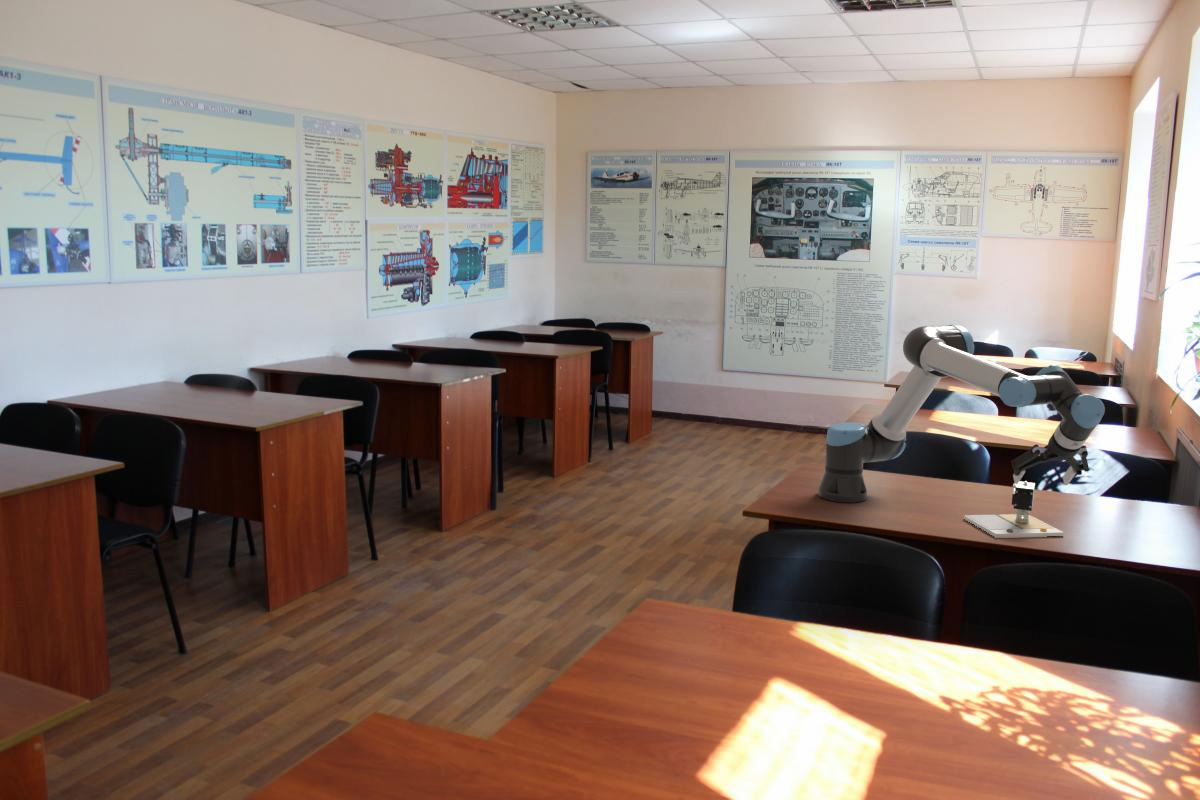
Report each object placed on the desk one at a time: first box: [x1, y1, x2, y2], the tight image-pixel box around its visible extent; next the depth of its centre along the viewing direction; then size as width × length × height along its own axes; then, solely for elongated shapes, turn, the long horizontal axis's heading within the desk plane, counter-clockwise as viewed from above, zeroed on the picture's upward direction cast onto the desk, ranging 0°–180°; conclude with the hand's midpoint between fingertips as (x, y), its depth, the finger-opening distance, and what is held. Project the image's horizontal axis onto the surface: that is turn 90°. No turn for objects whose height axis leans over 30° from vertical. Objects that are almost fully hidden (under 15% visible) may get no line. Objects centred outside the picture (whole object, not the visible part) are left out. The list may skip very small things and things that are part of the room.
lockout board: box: [963, 513, 1065, 539], centre depth 272 cm, size 18×20×2 cm
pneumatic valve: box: [1011, 480, 1036, 524], centre depth 273 cm, size 6×12×12 cm, turn 153°
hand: (1040, 480), depth 266 cm, fingers open, 13 cm apart
